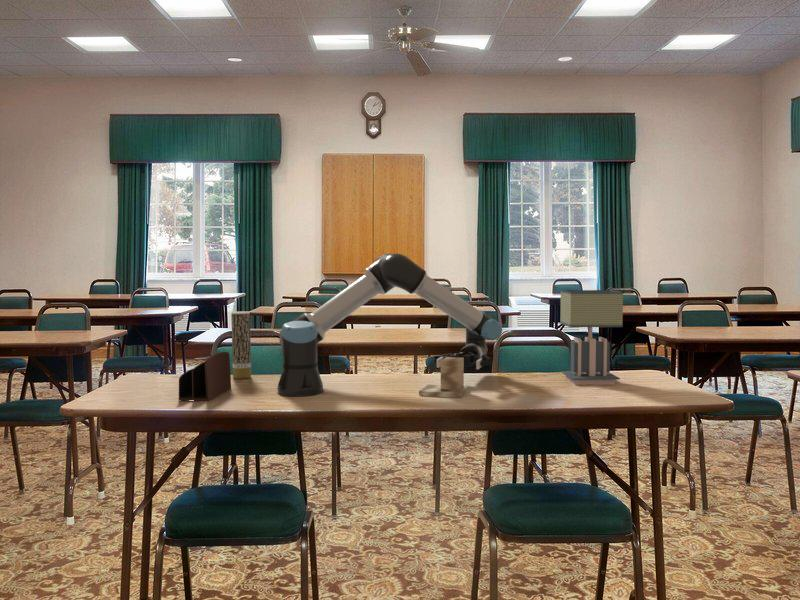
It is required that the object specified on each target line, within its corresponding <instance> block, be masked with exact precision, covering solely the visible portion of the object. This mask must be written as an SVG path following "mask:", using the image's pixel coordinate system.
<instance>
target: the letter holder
mask: <svg viewBox="0 0 800 600" xmlns="http://www.w3.org/2000/svg"><path fill="white" fill-rule="evenodd" d="M231 375H232V374H231V359H230V353H229V351H220V352H216V353H214V354H212V355H211V356H209V357H208V358H207V359H206V360H204V362H203V361H202V362H201V363H199V364H197V365H196V366H195V367H194V368H191V369H188V370H186V371H185V372H184V373H182V374H181V375H180V376H179V377H178V401H179V400H194V401H193V402H201V401H208V402H209V400H210V401H212V400H213V399H215V398H217V397H218V396H221V395H222V393H223V394H224V393H227V392H228V391H230V390H231V389H232V382H231V380H232V378H231ZM229 389H230V390H229ZM227 390H228V391H227ZM220 394H221V395H220ZM211 399H212V400H211Z"/></svg>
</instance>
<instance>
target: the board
mask: <svg viewBox="0 0 800 600" xmlns="http://www.w3.org/2000/svg"><path fill="white" fill-rule="evenodd" d="M467 391H468V392H469V386H464V388H463V389H462V390H461V391H460V392H446V391H441V384H427V385H425V386H424V387H422V388H420V390H419V391H418V396H419V395H423V397H435V396H436V398H437V397H439V398H451V397H452V398H454V399H462V398H463V397H464V396H465V395H464V394H465V393H466V392H467ZM468 392H467V393H468ZM467 393H466V394H467ZM463 395H464V396H463Z"/></svg>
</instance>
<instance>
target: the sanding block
mask: <svg viewBox="0 0 800 600" xmlns="http://www.w3.org/2000/svg"><path fill="white" fill-rule="evenodd" d="M464 367H465V366H464V358H457V357H445V358H444V359H442V360H441V367H440V385H441V391H446V392H460V391H461V390H462V389H463V388H464V387H465V386H464V383H465V382H464V378H465V377H464V376H465V373H464V371H465V368H464Z"/></svg>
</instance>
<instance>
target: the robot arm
mask: <svg viewBox="0 0 800 600" xmlns="http://www.w3.org/2000/svg"><path fill="white" fill-rule="evenodd" d="M395 287H397V288H399V289H402V290H404V291H406V292H407V293H409V294H410V295H412V294H415V295H417V296H418V297H419V298H421V299H423V300H425V301H427V303H429V304H431V305H432V306H434V307H436V308H437V309H438V310H440V311H441V312H443V313H445V315H447V316H449V317H451V318H452V319H454V320H455V321H457V323H460V324H462V325H463V326H464V327H465V346H463V347H462V348H461V349H460V350H459V351H458V352H456V353H454V354H453V353H452V352H449V353H444V354H439V355H433V361H434V362H433V363H434V364H435V365H436V368H441V360H442V359H444V358H445V357H457V358H464V367H467V368H470V367H475V366H476V367H475V369H476V370H480V368H483V367H486V366H487V367H492V358H491V357H490V356H488V355H487V353H488V346H487V343H486V341H496V340H498V339H499V338H500V337H501V335H502V332H503V328H502V327H503V326H502V324H501V323H500V321H498V320H496V319H494V318H491V317H489V316H488V315H486V311H484V310H481V309H480V310H479V309H477V308H476V307H474V306H473V305H472V304H470V303H469V302H467V301H466V300H465V299H463V298H461V297H459V296H458V295H457V294H456V293H454V292H452V291H451V290H449V289H448V288H446V287H445V286H444V285H442V284H441V283H439V282H438V281H436V280H435V279H433V278H432V277H430V276H428V275H427V271H426V270H425V269H423V268H422V267H421V266H419V265H418V264H417V263H415V262H414V261H413V260H411V258H409V257H408V256H406V255H404V254H401V253H391V252H390V253H385V254H382V255H380V256H378V257H377V259H375V260H374V262H373V263H371V264H370V265H369V266H368V267H366V268H365V269H364V274H363V275H362V276H361V277H359V278H357V280H355V281H354V282H353V283H350V285H348V286H347V287H345V288H344V289H343V290H341V291H339V292H338V293H337V294H336V295H334V296H333V297H331V298H330V299H329V300H328V301H326V302H325V303H323V304H322V305H321V306H319V307H318V308H317V309H315V310H314V311H312V312H311V313H308V312H303V313H302V314H301V315H299V316H298V317H297V318H295V319H294V320H291V321H287V322H285V323H284V324H283V325H282V326H281V330H280V332H279V338H278V339H279V340H278V341H279V343H280V347H281V349H282V350H281V351H282V354H281V355H282V370H281V373H280V374H281V375H280V378H279V380H278V383H277V394H278V395H281V396H285V397H286V396H287V397H307V396H313V395H314V396H315V395H318V394H321V393H323V392H324V384H323V381H322V378H321V375H320V371H319V369H318V344H319V343H320V342H321V341H323V340H324V338H325V334H326V332H328V331H329V330H331V329H332V328H334V327H335V326H336V325H338V324H339V323H340V322H342V321H343V320H345V318H347V317H348V316H350V315H351V314H352V313H354V312H355V311H357V310H358V309H360V308H361V307H362V306H364V305H365V304H366V303H368V302H369V301H371V300H372V299H373V298H375V297H376V296H378V295H385V294H387V293H388V292H390V291H391V290H392V289H394V288H395Z"/></svg>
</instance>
